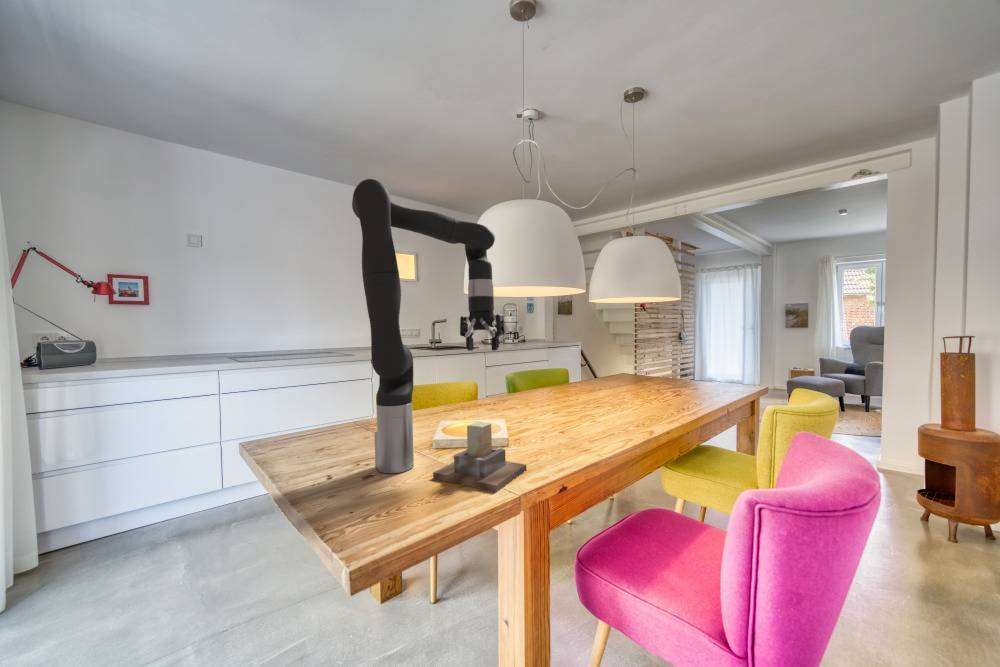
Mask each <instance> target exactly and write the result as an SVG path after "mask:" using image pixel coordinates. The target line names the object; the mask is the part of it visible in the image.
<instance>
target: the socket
mask: <svg viewBox="0 0 1000 667" xmlns="http://www.w3.org/2000/svg"><path fill="white" fill-rule="evenodd" d="M453 460H454V461H453V462H451V463H449V464H447V465H445V466H444V467H441V468H438V469H437V470H436V471H433V472H432V475H433V476H432V478H434V480H438V479H439V480H438V481H442V480H444V481H443V482H447V481H448V483H451V484H456V483H457V485H461V484H462V486H465V485H466V487H470V486H471V487H470V488H475V487H476V489H479V488H480V490H484V489H485V491H488V490H489V492H493V491H494V492H493V493H497V492H499V491H500V490H501V488H502V487H503V486H504V487H506V486H507V485H508V484H510V483H511V482H513V481H514V480H516V479H517V478H518V477H519V475H520V474H521V475H523V474H524V473H525V472H527V464H526V463H525V464H524V463H519V462H513V461H509V460H508V461H507V460H506V449H504V448H497V447H493V446H492V453H491V454H489V455H487V456H486V457H484V458H479V457H473V456H468V452H467V449H466V450H463V451H461V452H459V453H457V454H454V458H453ZM524 471H525V472H524ZM523 472H524V473H523ZM521 475H520V476H521ZM517 476H518V477H517ZM516 477H517V478H516ZM513 479H514V480H513ZM512 480H513V481H512ZM510 481H511V482H510ZM509 482H510V483H509ZM506 484H507V485H506ZM505 485H506V486H505ZM504 487H503V488H504ZM503 488H502V489H503ZM498 490H499V491H498Z"/></svg>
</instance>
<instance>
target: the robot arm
mask: <svg viewBox="0 0 1000 667" xmlns="http://www.w3.org/2000/svg"><path fill="white" fill-rule="evenodd" d="M390 196H391V195H390V193H389V191H388V189H387V187H386V186H385V185H384V184H382V182H380V181H378V180H376V179H373V178H367V179H363V180H362V181H361V182H359V183H358V184H357V185H356V186H355V189H354V191H353V194H352V202H351V208H352V211H353V213H354V215H355V216H356V217H357V218H358V219H359V223H360V227H361V236H362V240H361V241H362V244H361V245H362V248H361V271H362V282H363V289H364V296H365V301H366V302H365V303H366V307H367V308H366V310H367V313H368V314H367V316H368V319H369V326H370V327H369V328H370V341H371V343H370V345H371V346H370V347H371V349H370V350H371V353H370V354H371V365H372V368H373V370H374V372H375V373H376V374H377V375H378V376H379V378H378V379H379V382H378V383H379V385H378V389H377V392H376V395H375V402H376V404H375V405H376V406H375V407H376V431H375V432H374V460H375V461H374V462H375V463H374V465H375V466H374V467H375V469H377V470H378V472H381V473H383V474H398V473H399V474H400V473H403V472H407V471H409V470H411V469H412V468H414V465H415V463H414V459H415V458H414V430H413V429H414V421H413V420H414V418H413V417H414V416H413V391H414V357H413V353H412V351H411V349H410V348H409V347H408V346H407V345H405V344H403V340H402V339H403V338H402V334H401V327H400V313H401V305H402V304H401V302H402V289H401V288H402V287H401V280H400V272H399V267H398V259H397V255H396V254H397V253H396V249H395V244H394V239H393V236H392V235H393V234H392V228H396V229H401V230H405V231H409V232H413V233H417V234H420V235H423V236H427V237H430V238H433V239H436V240H439V241H442V242H445V243H448V244H453V245H455V244H462V245H464V251H465V252H464V253H465V255H466V256H465V257H466V261H467V264H468V265H467V266H468V272H467V273H468V284H467V285H468V286H467V297H468V298H467V299H468V301H467V303H468V305H467V306H468V312H469V316H465V315H463V316H460V319H459V320H460V321H459V322H460V323H459V335H460V336H461V337H464V338H465V347H466V349H467V351H469V352H470V351H473V350H474V338H473V337H474V335H475V334H476V332H477V331H487V333H489V334H490V336H491V340H490V341H491V351H492V352H493V351H497V350H498V349H499V348H500V341H499V338H500V337H501V336H504V335H505V334H506V331H505V322H504V320H505V319H504V318H505V317H504V315H503V314H498V313H497V314H496V315H495V314H494V310H495V305H494V302H495V301H494V299H495V298H494V296H495V295H494V285H493V283H494V282H493V266H492V262H491V261H489V260H488V254H487V253H488V252H487V251H488V250H490V249H491V248H492V247H493V245H494V244H495V241H496V237H495V234H494V232H493V231H492V230H491V228H489V227H487V226H486V225H484V224H480V223H476V222H471V221H463V220H458V219H456V218H454V217H451V216H448V215H445V214H443V213H439V212H435V211H429V210H424V209H423V210H421V209H416V208H415V209H413V208H409V207H405V206H401V205H399V204H396V203H394V202H391V197H390ZM494 322H495V325H496V326H495V325H494ZM469 323H470V324H469Z"/></svg>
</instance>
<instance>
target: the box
mask: <svg viewBox="0 0 1000 667" xmlns="http://www.w3.org/2000/svg"><path fill="white" fill-rule="evenodd" d="M466 434H467V435H466V436H467V437H466V440H467V441H466V443H467V445H466V446H467V449H466V450H467V452H468V456H473V457H479V458H484V457H486V456H487V455H489V454H491V453H492V447H493V444H492V443H493V442H492V423H491V422H484V421H483V422H482V421H476V422H473V423H471V424H468V425H467V426H466Z"/></svg>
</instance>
